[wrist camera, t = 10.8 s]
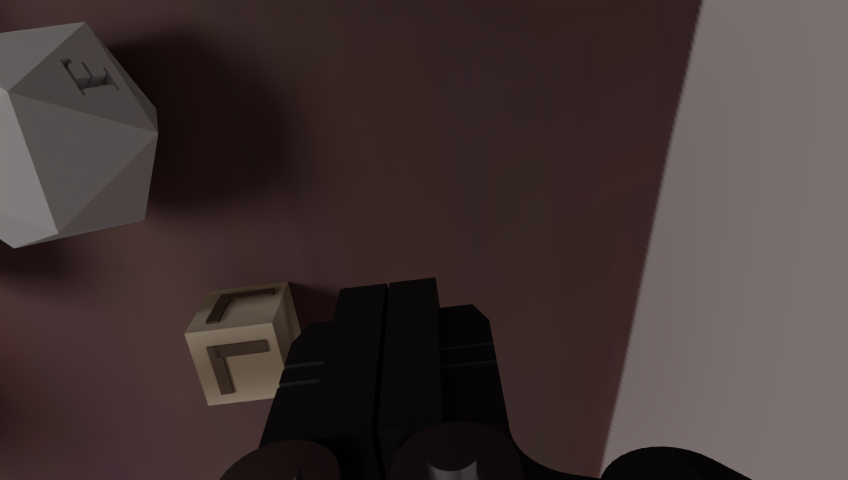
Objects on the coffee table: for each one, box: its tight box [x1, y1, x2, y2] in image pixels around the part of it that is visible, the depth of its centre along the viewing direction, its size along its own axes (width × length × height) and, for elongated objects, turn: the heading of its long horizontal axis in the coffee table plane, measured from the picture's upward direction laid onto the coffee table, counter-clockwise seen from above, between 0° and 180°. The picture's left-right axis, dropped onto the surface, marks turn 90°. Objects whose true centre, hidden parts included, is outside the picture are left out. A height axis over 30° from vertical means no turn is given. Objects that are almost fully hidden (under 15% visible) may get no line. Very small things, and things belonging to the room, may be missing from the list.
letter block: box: [185, 282, 301, 405], centre depth 33 cm, size 4×4×4 cm
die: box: [0, 22, 158, 248], centre depth 26 cm, size 8×9×10 cm
